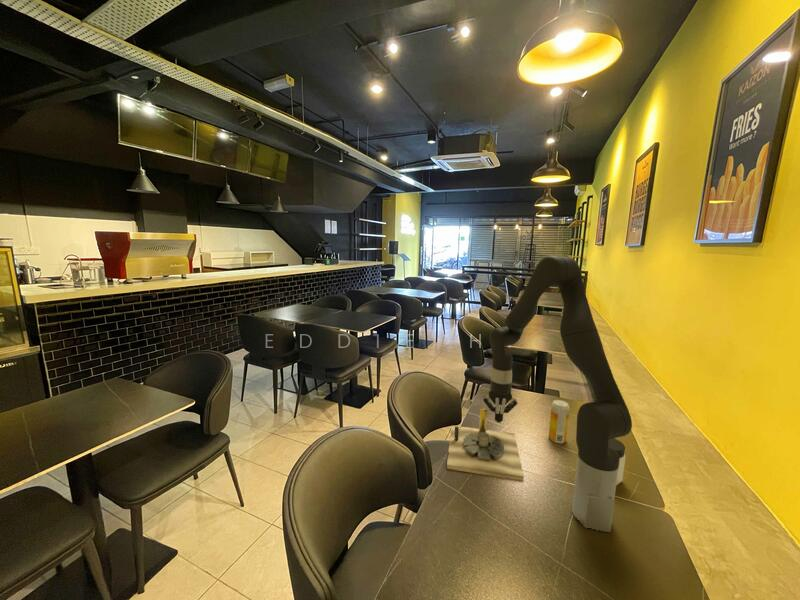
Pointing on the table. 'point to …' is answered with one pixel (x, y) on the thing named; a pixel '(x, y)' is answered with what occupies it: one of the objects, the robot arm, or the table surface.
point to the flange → (494, 443)
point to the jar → (620, 450)
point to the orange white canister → (559, 421)
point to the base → (465, 462)
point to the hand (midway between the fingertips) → (498, 421)
